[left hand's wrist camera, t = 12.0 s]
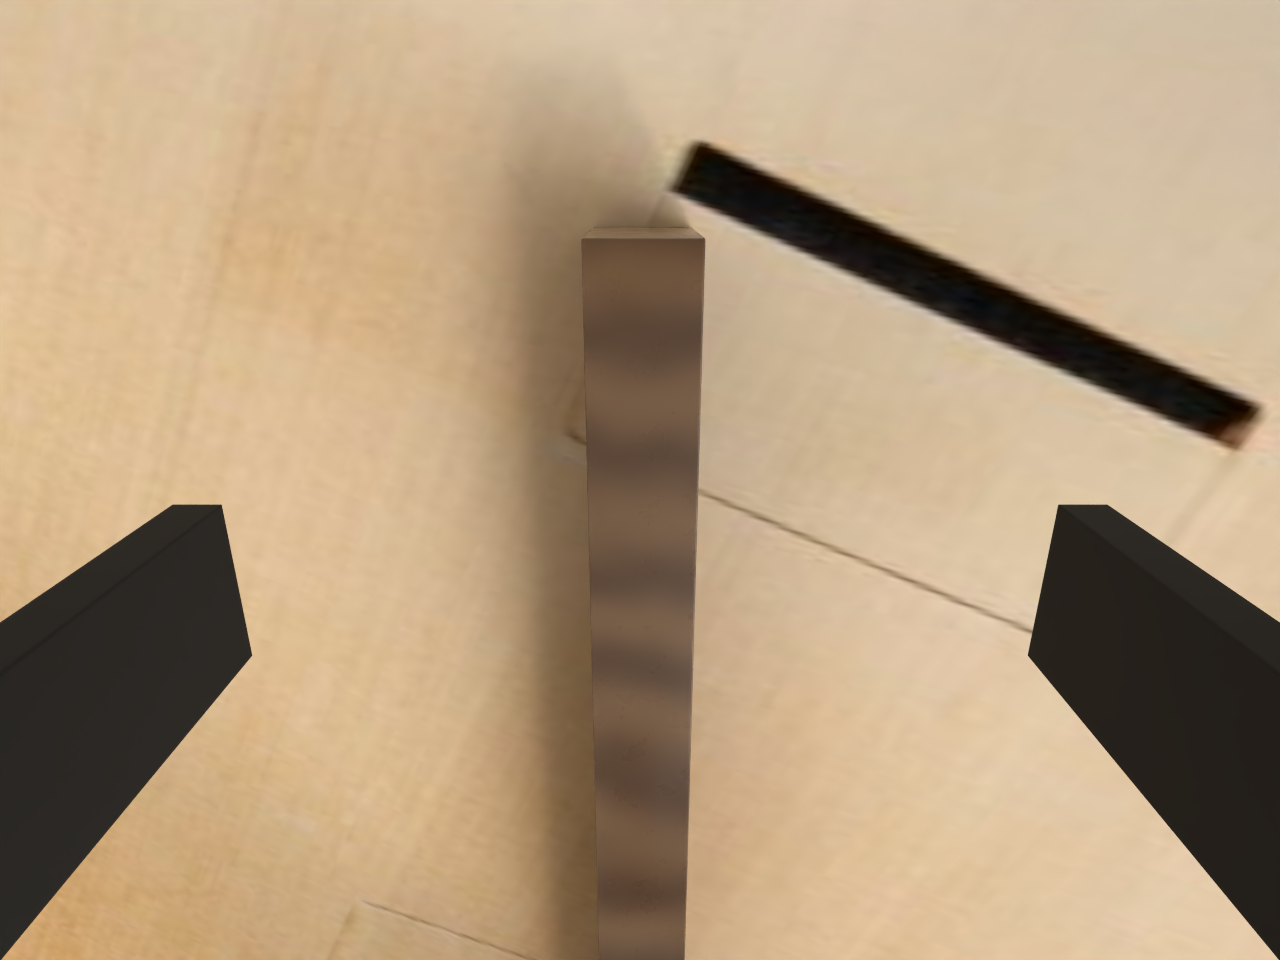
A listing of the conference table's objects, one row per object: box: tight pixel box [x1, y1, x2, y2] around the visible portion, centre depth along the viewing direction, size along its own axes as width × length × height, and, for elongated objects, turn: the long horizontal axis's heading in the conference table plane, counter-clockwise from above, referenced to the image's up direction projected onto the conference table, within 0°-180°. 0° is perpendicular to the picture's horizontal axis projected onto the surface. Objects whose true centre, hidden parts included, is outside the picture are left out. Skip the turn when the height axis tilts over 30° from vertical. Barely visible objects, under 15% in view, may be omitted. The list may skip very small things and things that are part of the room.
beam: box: [582, 228, 705, 960], centre depth 46 cm, size 73×5×8 cm, turn 0°
